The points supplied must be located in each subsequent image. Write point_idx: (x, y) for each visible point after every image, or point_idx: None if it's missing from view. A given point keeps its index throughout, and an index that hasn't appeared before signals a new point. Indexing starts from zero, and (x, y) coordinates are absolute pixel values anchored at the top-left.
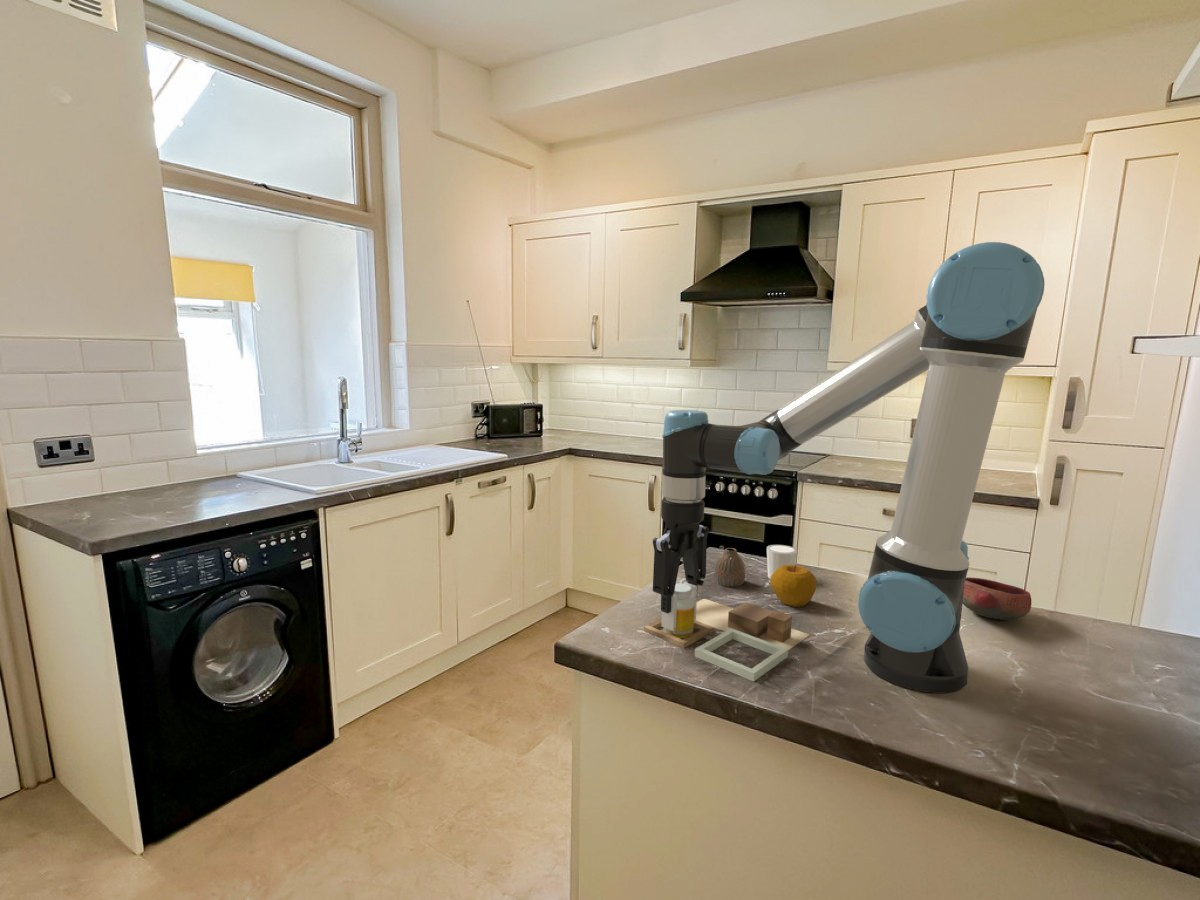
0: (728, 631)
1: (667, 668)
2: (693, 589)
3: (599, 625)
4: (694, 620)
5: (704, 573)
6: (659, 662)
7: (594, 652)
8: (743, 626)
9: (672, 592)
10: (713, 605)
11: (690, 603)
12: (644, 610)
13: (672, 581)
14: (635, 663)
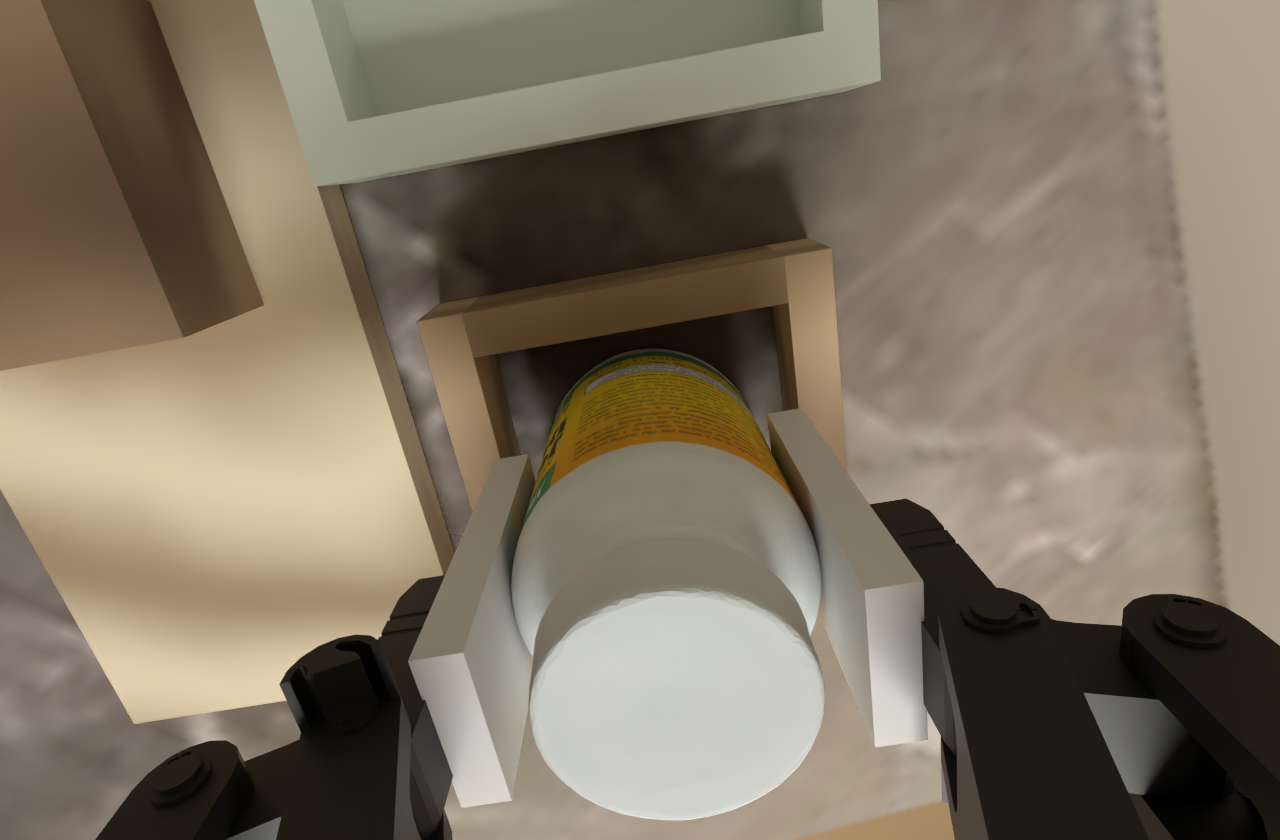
0: (380, 150)
1: (1047, 153)
2: (477, 641)
3: (921, 778)
4: (472, 488)
5: (152, 813)
6: (1019, 251)
7: (1196, 566)
8: (172, 153)
9: (1001, 615)
10: (137, 617)
11: (647, 479)
12: (573, 794)
13: (1098, 763)
14: (1141, 332)
